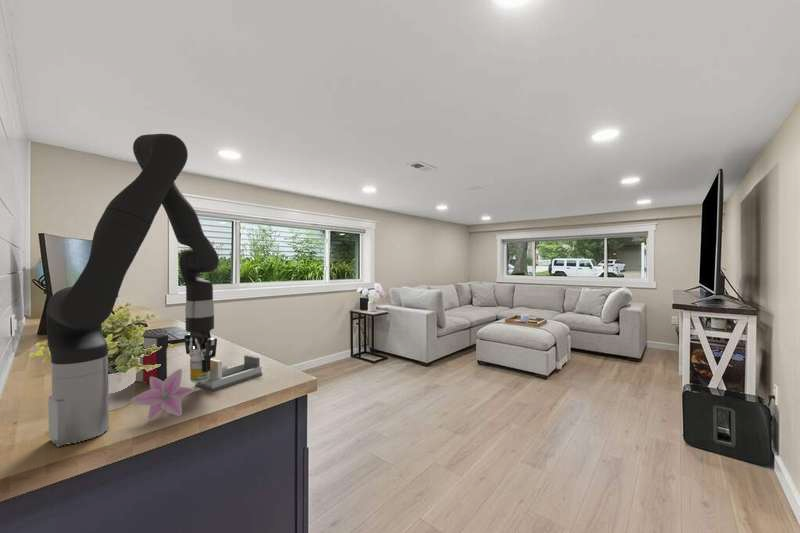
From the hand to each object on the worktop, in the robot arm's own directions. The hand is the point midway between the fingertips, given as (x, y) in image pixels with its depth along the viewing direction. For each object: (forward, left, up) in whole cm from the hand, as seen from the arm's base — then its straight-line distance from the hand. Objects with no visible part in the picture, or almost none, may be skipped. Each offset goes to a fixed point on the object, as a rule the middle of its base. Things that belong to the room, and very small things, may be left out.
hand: (200, 369), depth 103 cm
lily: (-14, -9, -6) cm, 17 cm away
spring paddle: (+6, 0, -5) cm, 8 cm away
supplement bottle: (0, 0, -3) cm, 3 cm away
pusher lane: (+9, 0, -6) cm, 11 cm away
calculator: (-5, +21, -6) cm, 22 cm away
